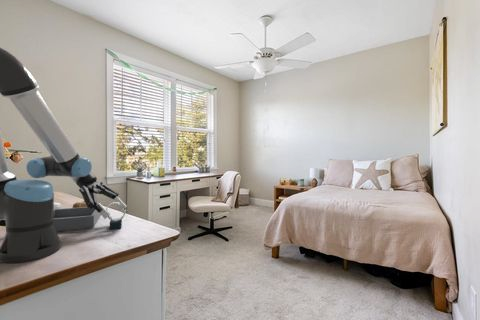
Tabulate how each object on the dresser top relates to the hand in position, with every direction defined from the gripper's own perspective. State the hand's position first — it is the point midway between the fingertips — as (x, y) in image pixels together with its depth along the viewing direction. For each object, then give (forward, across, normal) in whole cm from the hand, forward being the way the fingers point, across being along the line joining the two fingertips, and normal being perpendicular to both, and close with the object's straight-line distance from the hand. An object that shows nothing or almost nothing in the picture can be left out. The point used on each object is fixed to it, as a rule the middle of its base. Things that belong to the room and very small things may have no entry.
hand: (116, 212), depth 105 cm
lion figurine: (-15, -18, -25) cm, 35 cm away
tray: (-11, -2, -20) cm, 23 cm away
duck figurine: (-27, -16, -37) cm, 48 cm away
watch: (+5, +2, -4) cm, 7 cm away
